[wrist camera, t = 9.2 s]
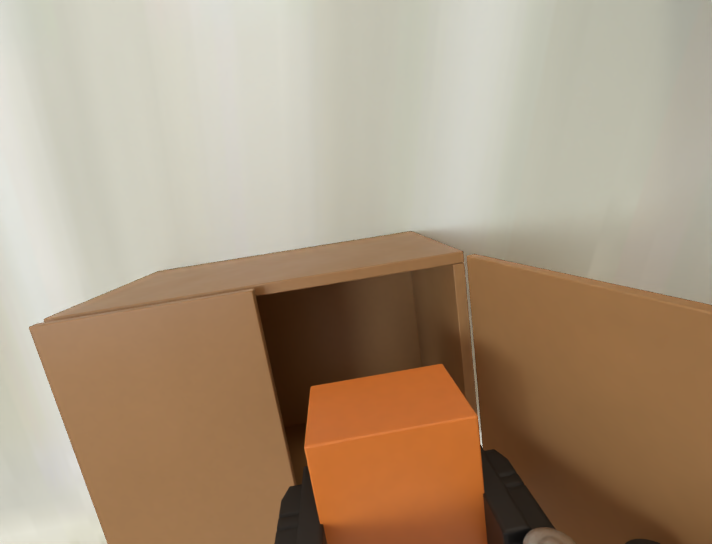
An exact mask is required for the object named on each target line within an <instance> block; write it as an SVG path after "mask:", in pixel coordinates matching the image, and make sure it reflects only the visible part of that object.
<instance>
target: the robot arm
mask: <svg viewBox="0 0 712 544" xmlns="http://www.w3.org/2000/svg"><path fill="white" fill-rule="evenodd" d="M480 447H481V458H482V470H483V481H484V494H483V499H484V510H485V521H486V533H487V544H577V543H576V542H575V541H574V540H573V539H572V538H570V537H569V536H568V535H566V534H564V533H563V532H561V531H558V530H556V529H555V527H554V526H553V525H552V523H551V522H550V520H549V519H548V517H547V516H546V514H545V513H544V512H543V510H542V509H541V507H540V506H539V504H538V503H537V501H536V500H535V498H534V497H533V495H532V494H531V492H530V491H529V490H528V488H527V487H526V485H524V482H523V481H522V479H521V478H520V476H519V475H518V474H517V473H516V471H515V469H514V468H513V466H512V465H511V463H510V462H509V460H508V459H507V458H506V457H504V456H503V455H502V454H500V453H499V452H497V451H496V450H495V449H491V450H486V451H484V450H483V448H482V446H481V445H480ZM274 544H327V541H326V536H325V531H324V526H323V524H320V522H319V517H318V513H317V508H316V503H315V498H314V493H313V488H312V484H311V479H310V474H309V469H308V466H304V468H303V477H302V484H300V485H295V486H290V487H289V488H288V490H287V492H286V493H285V495H284V497H283V499H282V500H281V506H280V512H279V519H278V524H277V532H276V537H275V543H274ZM625 544H660V543H658V542H655V541H652V540H648V539H632V540H630V541H628V542H626V543H625Z"/></svg>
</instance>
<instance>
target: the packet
mask: <svg viewBox="0 0 712 544" xmlns="http://www.w3.org/2000/svg"><path fill="white" fill-rule="evenodd" d="M304 450H305V455H306V459H307V464H308V469H309V474H310V479H311V484H312V488H313V493H314V498H315V503H316V508H317V513H318V517H319V522H320V524H323V526H324V531H325V536H326V541H327V544H487V533H486V521H485V510H484V499H483V494H484V481H483V470H482V458H481V447H480V435H479V423H478V416H477V414H476V413H475V411H474V410H473V408H472V407H471V405H470V404H469V402H468V401H467V399H466V398H465V397H464V395H463V394H462V392H461V391H460V389H459V388H458V386H457V385H456V383H455V382H454V380H453V379H452V377H451V376H450V374H449V373H448V372H447V370H446V369H445V367H444V366H443V364H437V365H431V366H425V367H419V368H414V369H408V370H402V371H396V372H391V373H385V374H379V375H373V376H367V377H362V378H356V379H350V380H344V381H339V382H333V383H327V384H321V385H316V386H311V388H310V396H309V406H308V415H307V425H306V434H305V444H304Z"/></svg>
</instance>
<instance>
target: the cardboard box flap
mask: <svg viewBox="0 0 712 544" xmlns="http://www.w3.org/2000/svg"><path fill="white" fill-rule="evenodd" d="M467 268H468V280H469V292H470V303H471V315H472V327H473V338H474V350H475V362H476V374H477V385H478V397H479V409H480V420H481V432H482V444H483V450H484V451H486V450H491V449H495V450H496V451H497V452H499V453H500V454H502V455H503V456H504V457H506V458H507V459H508V460H509V462H510V463H511V465H512V466H513V468H514V469H515V471H516V473H517V474H518V475H519V476H520V478H521V479H522V481H523V482H524V485H526V487H527V488H528V490H529V491H530V492H531V494H532V495H533V497H534V498H535V500H536V501H537V503H538V504H539V506H540V507H541V509H542V510H543V512H544V513H545V514H546V516H547V517H548V519H549V520H550V522H551V523H552V525H553V526H554V527H555V529H556V530H558V531H561V532H563V533H564V534H566V535H568V536H569V537H570V538H572V539H573V540H574V541H575V542H576V543H577V544H625V543H626V542H628V541H630V540H632V539H648V540H652V541H655V542H658V543H660V544H712V305H709V304H704V303H700V302H695V301H690V300H686V299H681V298H676V297H672V296H667V295H663V294H658V293H653V292H649V291H644V290H639V289H635V288H630V287H625V286H621V285H616V284H611V283H607V282H602V281H597V280H593V279H588V278H584V277H579V276H574V275H570V274H565V273H560V272H556V271H551V270H546V269H542V268H537V267H532V266H528V265H523V264H519V263H514V262H509V261H505V260H500V259H495V258H491V257H486V256H481V255H477V254H472V255H468V256H467Z"/></svg>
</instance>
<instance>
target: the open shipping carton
mask: <svg viewBox="0 0 712 544" xmlns="http://www.w3.org/2000/svg"><path fill="white" fill-rule="evenodd" d="M463 262H464V255H463V251H461V250H458V249H456V248H453V247H451V246H448V245H446V244H443V243H440V242H438V241H435V240H433V239H430V238H428V237H425V236H422V235H420V234H417V233H415V232H412V231H409V232H402V233H396V234H390V235H383V236H377V237H371V238H365V239H358V240H352V241H346V242H339V243H333V244H327V245H320V246H314V247H308V248H301V249H295V250H289V251H283V252H276V253H270V254H264V255H257V256H251V257H245V258H238V259H232V260H226V261H219V262H213V263H207V264H201V265H194V266H188V267H182V268H175V269H169V270H163V271H157V272H155V273H152V274H150V275H148V276H145V277H143V278H141V279H138V280H136V281H133V282H131V283H129V284H126V285H124V286H121V287H119V288H117V289H114V290H112V291H109V292H107V293H105V294H102V295H100V296H97V297H95V298H93V299H90V300H88V301H86V302H83V303H81V304H78V305H76V306H74V307H71V308H69V309H66V310H64V311H62V312H59V313H57V314H54V315H52V316H50V317H47V318H45V319H44V323H38V324H35V325H33V326H30V327H29V329H30V332H31V335H32V338H33V340H34V343H35V346H36V349H37V351H38V354H39V357H40V360H41V362H42V365H43V368H44V370H45V373H46V376H47V379H48V381H49V384H50V387H51V390H52V392H53V395H54V398H55V401H56V403H57V406H58V409H59V412H60V414H61V417H62V420H63V423H64V425H65V428H66V431H67V433H68V436H69V439H70V442H71V444H72V447H73V450H74V453H75V455H76V458H77V461H78V464H79V466H80V469H81V472H82V475H83V477H84V480H85V483H86V486H87V488H88V491H89V494H90V496H91V499H92V502H93V505H94V507H95V510H96V513H97V516H98V518H99V521H100V524H101V527H102V529H103V532H104V535H105V538H106V540H107V543H108V544H274V543H275V537H276V532H277V524H278V519H279V512H280V506H281V500H282V499H283V497H284V495H285V493H286V492H287V490H288V488H289V487H290V486H295V485H300V484H302V477H303V468H304V466H308V464H307V459H306V455H305V450H304V444H305V434H306V425H307V415H308V406H309V396H310V388H311V386H316V385H321V384H327V383H333V382H339V381H344V380H350V379H356V378H362V377H367V376H373V375H379V374H385V373H391V372H396V371H402V370H408V369H414V368H419V367H425V366H431V365H437V364H443V366H444V367H445V369H446V370H447V372H448V373H449V374H450V376H451V377H452V379H453V380H454V382H455V383H456V385H457V386H458V388H459V389H460V391H461V392H462V394H463V395H464V397H465V398H466V399H467V401H468V402H469V404H470V405H471V407H472V408H473V410H474V411H475V413H476V414H477V404H476V392H475V381H474V369H473V358H472V346H471V335H470V323H469V312H468V300H467V289H466V277H465V266H464V263H463ZM477 416H478V415H477Z"/></svg>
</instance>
